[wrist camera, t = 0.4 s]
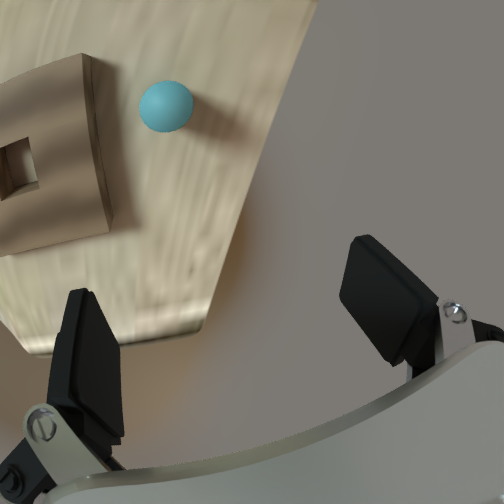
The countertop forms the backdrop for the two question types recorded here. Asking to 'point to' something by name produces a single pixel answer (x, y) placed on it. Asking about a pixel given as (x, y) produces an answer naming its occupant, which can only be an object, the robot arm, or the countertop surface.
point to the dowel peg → (166, 106)
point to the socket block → (52, 158)
